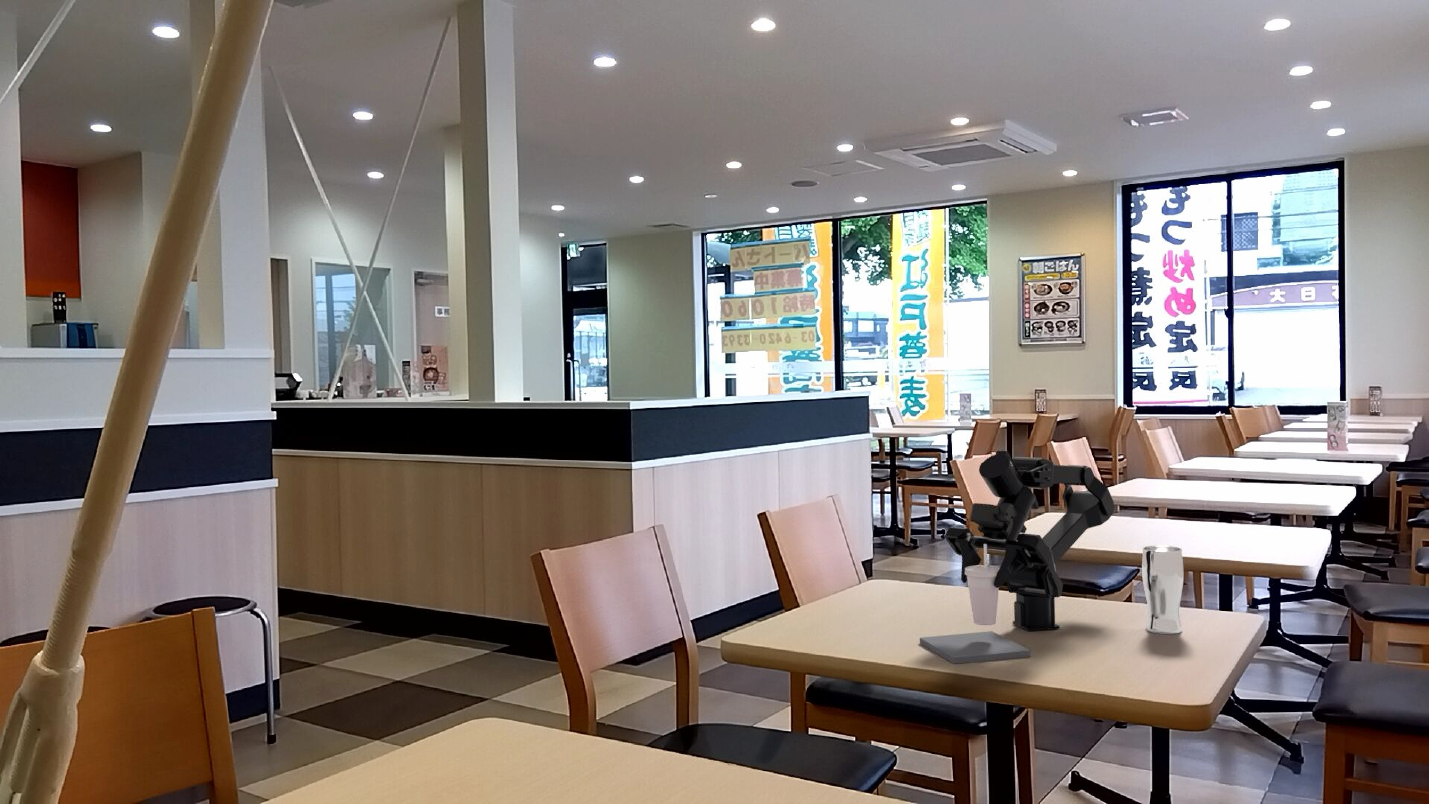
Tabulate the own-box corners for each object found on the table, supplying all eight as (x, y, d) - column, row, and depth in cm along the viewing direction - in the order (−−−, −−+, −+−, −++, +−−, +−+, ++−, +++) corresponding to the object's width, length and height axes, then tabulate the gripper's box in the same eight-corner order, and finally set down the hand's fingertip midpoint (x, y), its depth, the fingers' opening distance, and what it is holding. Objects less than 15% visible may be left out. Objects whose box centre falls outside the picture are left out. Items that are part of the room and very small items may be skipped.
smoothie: (994, 628, 180) (991, 547, 180) (959, 624, 185) (957, 545, 184) (1009, 621, 185) (1007, 542, 185) (975, 617, 189) (973, 539, 189)
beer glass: (1134, 628, 193) (1133, 547, 193) (1163, 624, 196) (1161, 544, 196) (1164, 636, 187) (1162, 553, 187) (1193, 631, 190) (1191, 549, 189)
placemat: (991, 636, 191) (991, 631, 191) (1030, 656, 177) (1030, 650, 177) (919, 643, 188) (919, 637, 188) (953, 663, 174) (953, 657, 174)
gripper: (948, 483, 194) (914, 551, 187) (1040, 488, 180) (1008, 562, 173) (973, 520, 199) (941, 587, 192) (1064, 528, 186) (1034, 601, 179)
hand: (979, 584), depth 184 cm, fingers closed on smoothie, 6 cm apart
